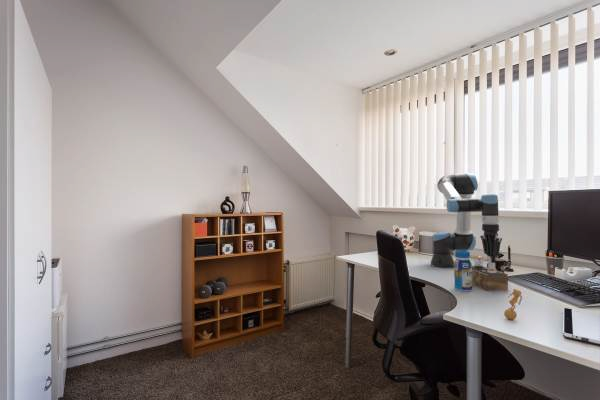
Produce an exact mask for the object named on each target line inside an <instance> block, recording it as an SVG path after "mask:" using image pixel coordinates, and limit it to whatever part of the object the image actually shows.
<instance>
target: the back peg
mask: <svg viewBox="0 0 600 400" xmlns="http://www.w3.org/2000/svg"><path fill="white" fill-rule="evenodd" d="M473 258H474V266H475V268H477V269H482V268H483V267H484V259H483V258H484V256H480V255H479V256H478V255H476V256H474V257H473Z"/></svg>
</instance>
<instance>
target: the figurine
mask: <svg viewBox="0 0 600 400" xmlns="http://www.w3.org/2000/svg"><path fill="white" fill-rule="evenodd" d="M512 295H513V297H512V298H511V299H510V300H509V304H510V305H511V306H510V307H509V308H507V309H505V310H504V312H503V315H504V317H505V318H506V319H507V320H510V321H513V320H515V319H516V318H517V313H516V311H515V309H516V305H515V304H516V303H517V305H521V302H522V299H523V295H522V292H521V290H518V289H516V288H513V290H512V292H511V293H510V294H509V295H508V296H507V299H508V298H510V297H511V296H512ZM518 301H519V302H518Z"/></svg>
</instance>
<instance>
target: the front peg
mask: <svg viewBox="0 0 600 400" xmlns="http://www.w3.org/2000/svg"><path fill="white" fill-rule="evenodd" d="M487 272H489V273H496V269H489V268H487Z"/></svg>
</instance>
